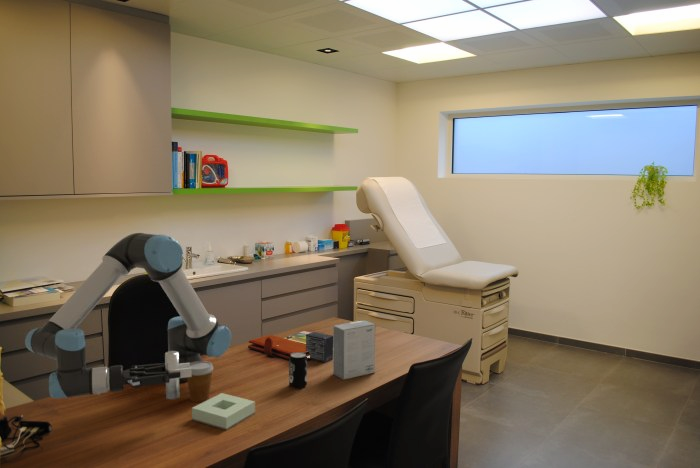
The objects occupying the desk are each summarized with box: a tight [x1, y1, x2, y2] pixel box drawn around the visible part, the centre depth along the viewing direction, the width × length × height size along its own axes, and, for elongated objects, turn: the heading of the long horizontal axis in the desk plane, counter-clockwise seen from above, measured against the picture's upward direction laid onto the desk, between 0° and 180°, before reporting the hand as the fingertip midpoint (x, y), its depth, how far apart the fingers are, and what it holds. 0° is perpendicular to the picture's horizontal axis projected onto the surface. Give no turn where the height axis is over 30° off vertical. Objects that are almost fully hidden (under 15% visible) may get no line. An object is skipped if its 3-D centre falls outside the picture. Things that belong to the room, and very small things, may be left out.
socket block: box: [191, 392, 256, 431], centre depth 177 cm, size 14×14×4 cm
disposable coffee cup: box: [187, 360, 214, 403], centre depth 191 cm, size 10×10×12 cm
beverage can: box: [288, 351, 308, 390], centre depth 204 cm, size 7×7×12 cm
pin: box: [164, 351, 181, 400], centre depth 170 cm, size 4×4×14 cm
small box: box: [305, 331, 333, 363], centre depth 235 cm, size 11×6×10 cm, turn 58°
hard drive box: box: [332, 319, 376, 381], centre depth 217 cm, size 16×8×20 cm, turn 123°
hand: (190, 369), depth 172 cm, fingers closed on pin, 4 cm apart
